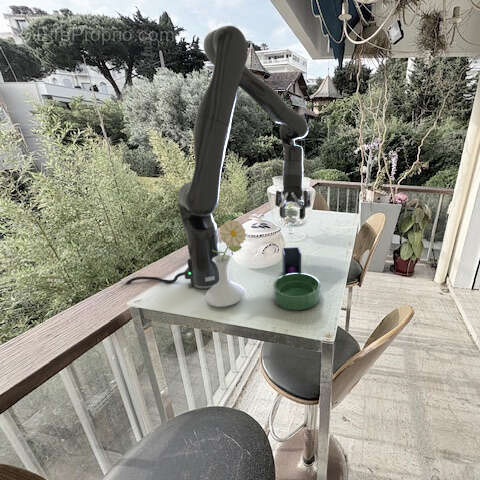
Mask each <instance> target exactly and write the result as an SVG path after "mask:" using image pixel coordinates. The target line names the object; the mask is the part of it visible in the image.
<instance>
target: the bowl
mask: <svg viewBox="0 0 480 480" xmlns="http://www.w3.org/2000/svg"><path fill="white" fill-rule="evenodd" d="M320 298H321V281H320V280H319V279H318V278H317V277H315V276H314V275H312V274H308V273H304V272H301V273H290V274H286V275H283V274H282V275H280V276H279V277H278V278H276V279H275V280H274V282H273V299H274V302H275V303H276V304H277V305H278V306H279V307H281V308H283V309H286V310H292V311H299V310H300V311H301V310H306V309H309V308H311V307H313V306H315V305H316V304H317V303H319V300H320Z"/></svg>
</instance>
